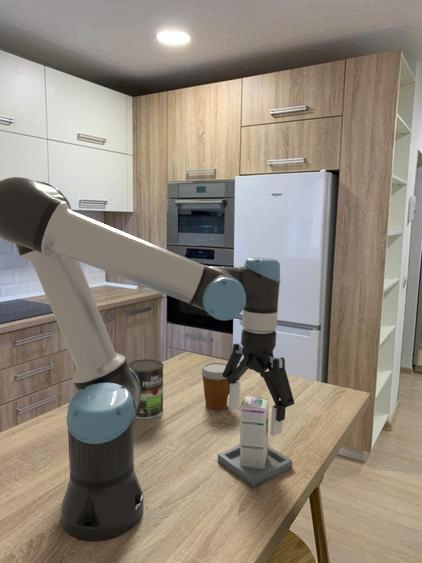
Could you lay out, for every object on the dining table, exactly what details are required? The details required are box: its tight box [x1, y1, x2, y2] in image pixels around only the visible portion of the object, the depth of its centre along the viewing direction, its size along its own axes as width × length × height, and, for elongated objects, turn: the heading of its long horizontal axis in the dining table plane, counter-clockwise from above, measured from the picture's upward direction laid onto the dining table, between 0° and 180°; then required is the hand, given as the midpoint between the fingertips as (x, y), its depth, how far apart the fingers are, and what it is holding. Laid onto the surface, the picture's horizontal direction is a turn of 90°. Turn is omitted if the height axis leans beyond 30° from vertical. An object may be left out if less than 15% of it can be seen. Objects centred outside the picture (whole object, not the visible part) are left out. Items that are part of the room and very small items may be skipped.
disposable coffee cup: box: [200, 362, 229, 411], centre depth 125 cm, size 10×10×12 cm
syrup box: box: [239, 396, 270, 470], centre depth 95 cm, size 6×6×14 cm
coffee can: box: [127, 358, 164, 421], centre depth 120 cm, size 10×10×14 cm
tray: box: [217, 444, 293, 489], centre depth 96 cm, size 12×12×2 cm
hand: (253, 420), depth 94 cm, fingers open, 13 cm apart
